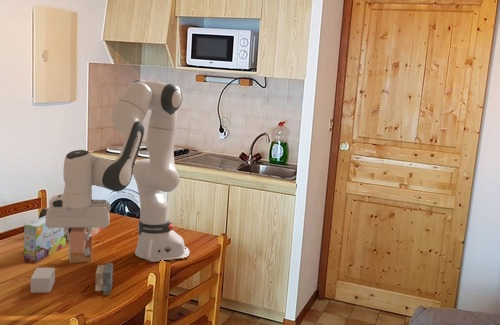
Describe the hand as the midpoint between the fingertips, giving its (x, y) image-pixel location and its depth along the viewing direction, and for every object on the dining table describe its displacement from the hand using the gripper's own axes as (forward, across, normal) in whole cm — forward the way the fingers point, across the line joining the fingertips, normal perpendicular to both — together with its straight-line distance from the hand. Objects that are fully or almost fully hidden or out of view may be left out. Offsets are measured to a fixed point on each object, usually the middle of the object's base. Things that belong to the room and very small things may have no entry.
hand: (78, 239), depth 173 cm
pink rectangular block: (+3, 0, 0) cm, 3 cm away
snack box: (+19, +17, -35) cm, 43 cm away
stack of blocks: (+20, +1, -64) cm, 67 cm away
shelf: (+18, +2, -1) cm, 19 cm away
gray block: (+17, +12, -1) cm, 21 cm away
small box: (+19, +3, -28) cm, 34 cm away
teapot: (+19, +14, -61) cm, 66 cm away
